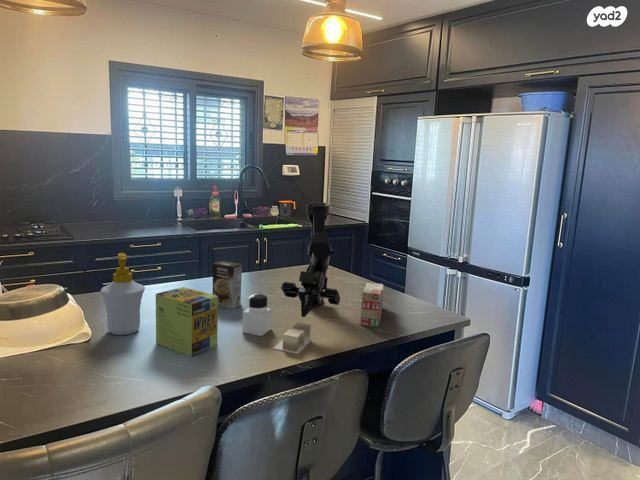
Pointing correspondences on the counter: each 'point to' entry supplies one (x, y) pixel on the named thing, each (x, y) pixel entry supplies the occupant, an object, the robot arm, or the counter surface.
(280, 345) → the felt mat
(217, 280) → the coffee box
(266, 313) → the medicine bottle
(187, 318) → the protein box
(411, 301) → the counter surface
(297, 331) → the beech block
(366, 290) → the stack of blocks
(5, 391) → the counter surface
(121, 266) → the soap bottle
